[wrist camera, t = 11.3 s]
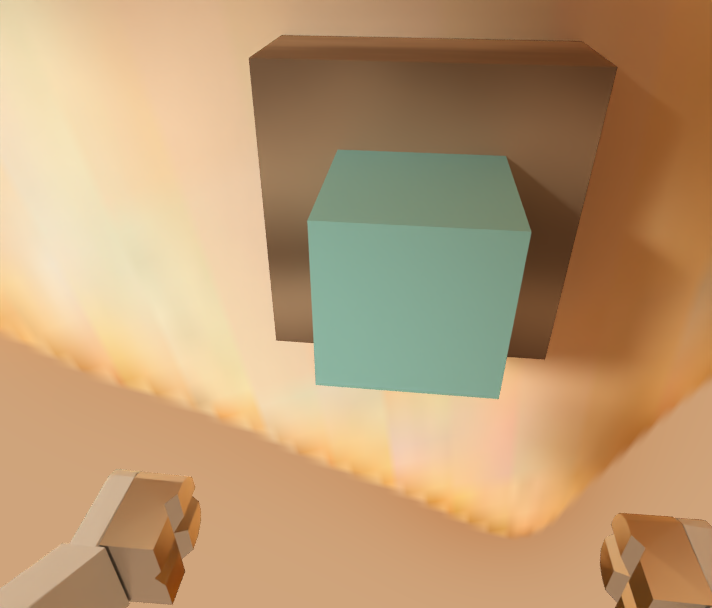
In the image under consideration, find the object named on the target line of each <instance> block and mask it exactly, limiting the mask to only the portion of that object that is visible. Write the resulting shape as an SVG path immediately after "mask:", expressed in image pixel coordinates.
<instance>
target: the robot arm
mask: <svg viewBox="0 0 712 608" xmlns="http://www.w3.org/2000/svg"><path fill="white" fill-rule="evenodd" d="M194 490H195V485H194V482H193V478H192V477H189V476H179V475H170V474H161V473H151V472H142V471H133V470H122V469H116V470H115V471H114V472H113V473H112V474H111V475H109V476H108V478H107V480H106V482H105V483H104V485H103V487H102V488H101V490H100V492H99V494H98V495H97V497H96V499H95V501H94V502H93V504H92V506H91V508H90V509H89V511H88V513H87V514H86V516H85V518H84V520H83V521H82V523H81V525H80V527H79V528H78V530H77V532H76V534H75V535H74V537H73V539H72V541H71V542H70V543H62V544H60V545H59V546H58V547H56V548H55V549H54V550H52V551H51V552H49V553H48V554H47V555H45V556H44V557H43V558H41V559H40V560H38V561H37V562H36V563H34V564H33V565H31V566H30V567H29V568H27V569H26V570H25V571H23V572H22V573H21V574H19V575H18V576H16V577H15V578H14V579H12V580H11V581H10V582H8V583H7V584H5V585H4V586H3V587H1V588H0V608H126V607H128V606H129V604H130V603H129V601H131V602H143V603H157V604H170V605H172V604H173V602H174V600H175V597H176V594H177V592H178V589H179V586H180V584H181V581H182V579H183V576H184V573H185V569H184V566H183V562H182V559H183V558H184V557H185V556H186V555H187V554H189V553H190V552H191V551H192V550H193V549H194V546H195V543H196V540H197V537H198V534H199V528H200V523H201V508H200V504H199V501H198V500H196V499H195V498H194V497H193V496H192V494H193V492H194ZM611 526H612V529H613V533H614V534H612V535H610V536H608V537H606V538H605V539H604V542H603V545H602V548H601V554H600V567H601V575H602V579H603V583H604V587H605V590H606V591H607V592H608V593H609V595H610V596H611V597H612V598H613V599H614V600H615V601H616V602H617V605H616V607H615V608H712V527H711V525H709V523H708V522H707V521H704V520H699V519H683V518H673V517H668V516H655V515H641V514H627V513H619V514H617V515H615V517H614V519H613V521H612V523H611Z"/></svg>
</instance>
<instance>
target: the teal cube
mask: <svg viewBox="0 0 712 608" xmlns="http://www.w3.org/2000/svg"><path fill="white" fill-rule="evenodd" d="M307 224H308V243H309V262H310V281H311V301H312V320H313V339H314V359H315V378H316V385H324V386H337V387H350V388H363V389H376V390H389V391H402V392H415V393H428V394H441V395H454V396H467V397H480V398H493V399H499V395H500V390H501V385H502V379H503V374H504V369H505V364H506V359H507V354H508V349H509V344H510V339H511V334H512V329H513V323H514V318H515V313H516V308H517V303H518V298H519V293H520V288H521V283H522V278H523V273H524V267H525V262H526V257H527V252H528V247H529V242H530V237H531V229H530V226H529V223H528V220H527V217H526V214H525V211H524V208H523V205H522V202H521V199H520V196H519V193H518V190H517V187H516V184H515V181H514V178H513V175H512V172H511V169H510V166H509V164H508V161H507V158H506V156H494V155H467V154H441V153H414V152H388V151H361V150H337V152H336V154H335V157H334V159H333V162H332V164H331V166H330V169H329V171H328V173H327V176H326V178H325V180H324V183H323V185H322V187H321V190H320V192H319V194H318V197H317V199H316V201H315V204H314V206H313V208H312V211H311V213H310V216H309V218H308V220H307Z"/></svg>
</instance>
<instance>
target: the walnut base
mask: <svg viewBox="0 0 712 608" xmlns="http://www.w3.org/2000/svg"><path fill="white" fill-rule="evenodd" d="M249 65H250V75H251V85H252V95H253V106H254V116H255V126H256V136H257V147H258V157H259V167H260V177H261V188H262V198H263V208H264V219H265V229H266V239H267V249H268V260H269V270H270V280H271V290H272V301H273V311H274V321H275V331H276V340H278V341H292V342H306V343H314V339H313V320H312V301H311V281H310V262H309V243H308V224H307V220H308V218H309V216H310V213H311V211H312V208H313V206H314V204H315V201H316V199H317V197H318V194H319V192H320V190H321V187H322V185H323V183H324V180H325V178H326V176H327V173H328V171H329V169H330V166H331V164H332V162H333V159H334V157H335V154H336V152H337V150H361V151H388V152H414V153H441V154H467V155H494V156H506V158H507V161H508V164H509V166H510V169H511V172H512V175H513V178H514V181H515V184H516V187H517V190H518V193H519V196H520V199H521V202H522V205H523V208H524V211H525V214H526V217H527V220H528V223H529V226H530V229H531V237H530V242H529V247H528V252H527V257H526V262H525V267H524V273H523V278H522V283H521V288H520V293H519V298H518V303H517V308H516V313H515V318H514V323H513V329H512V334H511V339H510V344H509V349H508V354H507V357H518V358H532V359H545V357H546V353H547V349H548V345H549V341H550V337H551V333H552V329H553V325H554V321H555V317H556V313H557V309H558V305H559V301H560V297H561V293H562V289H563V284H564V280H565V276H566V272H567V268H568V264H569V260H570V256H571V252H572V248H573V244H574V240H575V236H576V232H577V228H578V224H579V220H580V216H581V212H582V208H583V204H584V200H585V196H586V192H587V188H588V184H589V180H590V176H591V171H592V167H593V163H594V159H595V155H596V151H597V147H598V143H599V139H600V135H601V131H602V127H603V123H604V119H605V115H606V111H607V107H608V103H609V99H610V95H611V91H612V87H613V83H614V79H615V75H616V71H617V66H615V65H614V64H613V63H611V62H610V61H608V60H607V59H606V58H604V57H603V56H602V55H600V54H599V53H597V52H596V51H595V50H593V49H592V48H590V47H589V46H588V45H586V44H585V43H584V42H582V41H540V40H491V39H442V38H392V37H343V36H293V35H281V36H280V37H278V38H277V39H276V40H274V41H273V42H271V43H270V44H268V45H267V46H265V47H264V48H263V49H261V50H260V51H258V52H257V53H255V54H254V55H253V56H251V57H250V58H249Z"/></svg>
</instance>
